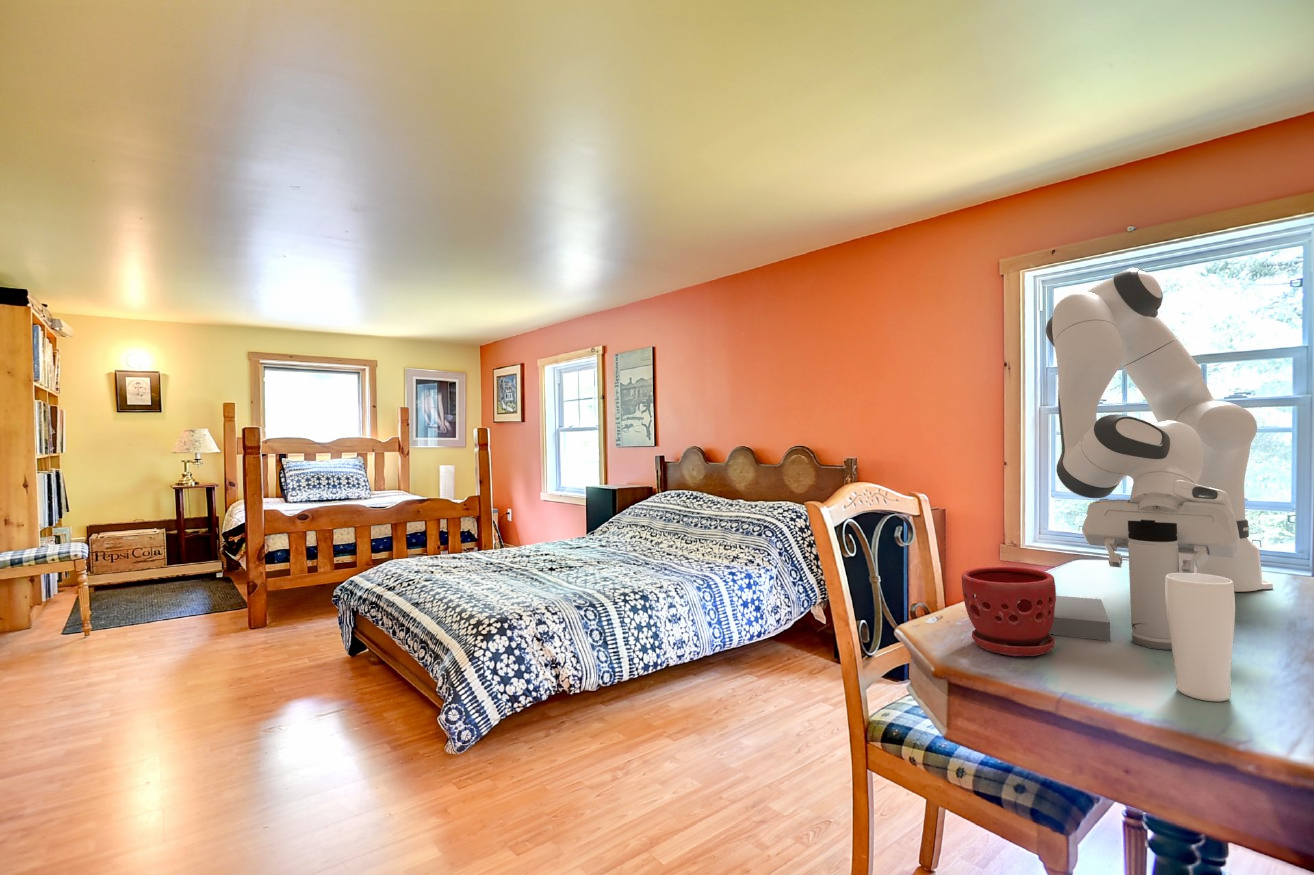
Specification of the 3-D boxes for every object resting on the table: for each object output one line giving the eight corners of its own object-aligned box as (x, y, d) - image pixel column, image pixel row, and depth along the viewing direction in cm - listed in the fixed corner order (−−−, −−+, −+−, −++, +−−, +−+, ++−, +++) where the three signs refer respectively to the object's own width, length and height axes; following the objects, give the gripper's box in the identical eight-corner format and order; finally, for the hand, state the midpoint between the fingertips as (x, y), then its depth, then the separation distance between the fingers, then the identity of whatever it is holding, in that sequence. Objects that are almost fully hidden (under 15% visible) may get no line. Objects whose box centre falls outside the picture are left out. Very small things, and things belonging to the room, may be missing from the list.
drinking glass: (1245, 696, 80) (1240, 577, 80) (1230, 710, 76) (1225, 586, 76) (1178, 680, 86) (1174, 570, 86) (1161, 693, 82) (1156, 578, 82)
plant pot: (1013, 632, 109) (1010, 562, 109) (1079, 657, 96) (1076, 578, 96) (946, 639, 106) (943, 568, 106) (1005, 666, 93) (1002, 585, 93)
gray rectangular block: (1014, 607, 123) (1013, 592, 123) (1101, 615, 116) (1101, 599, 116) (1011, 630, 110) (1011, 613, 110) (1110, 641, 102) (1109, 622, 102)
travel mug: (1127, 645, 100) (1122, 519, 100) (1136, 635, 105) (1132, 514, 105) (1177, 654, 96) (1172, 521, 96) (1185, 643, 100) (1180, 517, 100)
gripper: (1086, 487, 113) (1070, 549, 107) (1240, 492, 98) (1232, 565, 91) (1094, 509, 116) (1079, 571, 110) (1245, 518, 101) (1238, 590, 94)
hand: (1150, 569), depth 100 cm, fingers open, 8 cm apart
